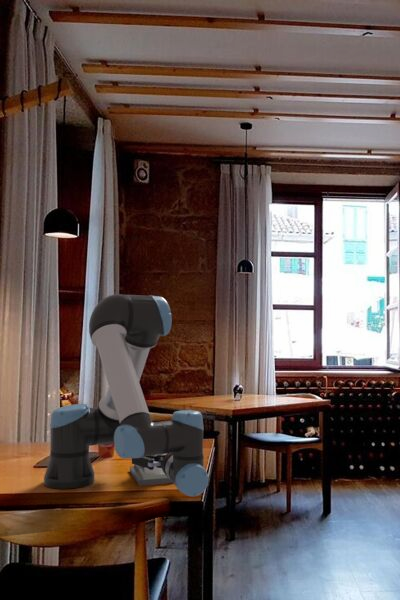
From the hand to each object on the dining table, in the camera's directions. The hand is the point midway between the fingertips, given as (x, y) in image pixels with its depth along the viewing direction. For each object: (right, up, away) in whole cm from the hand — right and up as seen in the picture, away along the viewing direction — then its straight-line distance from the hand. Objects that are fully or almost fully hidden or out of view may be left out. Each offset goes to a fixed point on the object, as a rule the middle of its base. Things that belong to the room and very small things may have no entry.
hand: (161, 451), depth 159 cm
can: (-3, -10, +7) cm, 12 cm away
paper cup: (-24, -14, +41) cm, 50 cm away
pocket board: (-3, -11, +11) cm, 16 cm away
